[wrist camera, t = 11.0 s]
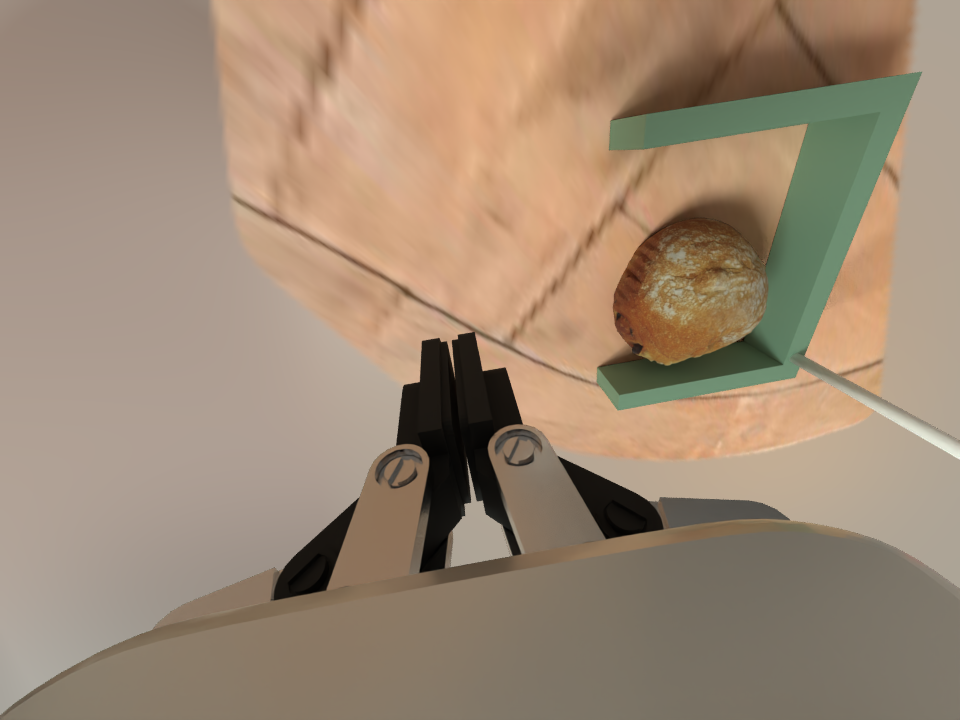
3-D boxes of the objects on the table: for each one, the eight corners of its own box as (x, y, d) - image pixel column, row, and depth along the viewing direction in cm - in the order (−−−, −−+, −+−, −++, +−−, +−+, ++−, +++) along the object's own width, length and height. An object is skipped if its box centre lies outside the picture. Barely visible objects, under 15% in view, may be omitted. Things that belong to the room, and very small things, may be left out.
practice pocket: (610, 120, 21) (968, 54, 7) (842, 85, 21) (1600, -42, 7) (596, 381, 30) (732, 567, 17) (755, 352, 31) (1011, 510, 17)
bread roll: (708, 273, 31) (823, 261, 23) (660, 378, 30) (761, 400, 23) (633, 209, 27) (740, 170, 20) (577, 328, 27) (664, 334, 19)
